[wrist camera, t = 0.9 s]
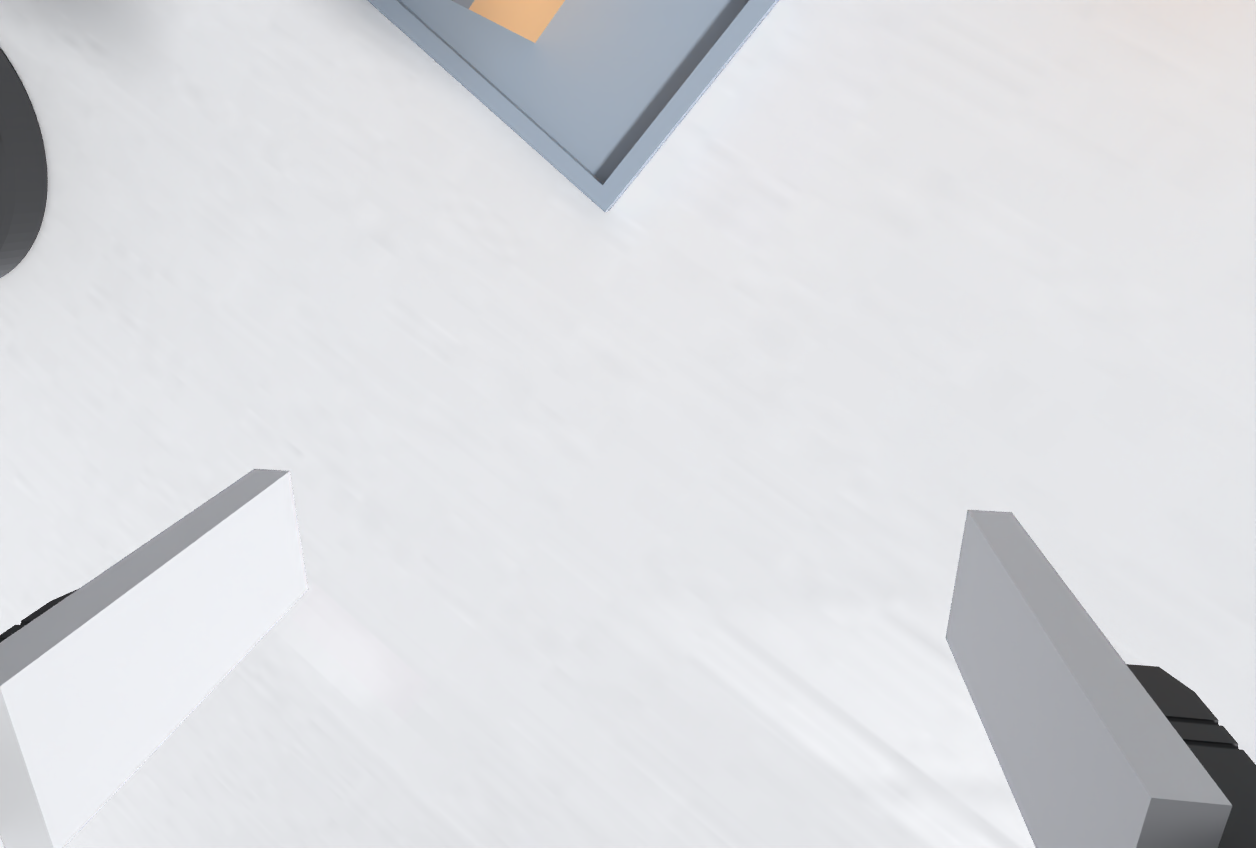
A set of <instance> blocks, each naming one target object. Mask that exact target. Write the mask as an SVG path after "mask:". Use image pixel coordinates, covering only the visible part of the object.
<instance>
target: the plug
mask: <svg viewBox="0 0 1256 848" xmlns="http://www.w3.org/2000/svg"><path fill="white" fill-rule="evenodd" d="M452 1H453V2H455V3H457V4H459V5H461V6H463V7H465V8H467V9H469V10H471V11H473V12H475V13H477V14H479V15H481V16H483V17H485V18H487V19H489V20H491V21H493V22H495V23H497V24H499V25H500V26H502V27H504V28H506V29H508V30H510V31H512V32H514V33H516V34H518V35H520V36H522V37H524V38H526V39H528V40H530V41H532V42H534V43H536V41H537V40H538V38H539V37H540V35H541V34H542V33H543V31H544V30H545V28H546V27H547V25H548V24H549V23H550V21H551V20H552V18H553V17H554V15H555V14H556V13H557V11H558V10H559V8H560V7H561V5H562V4H563V3H564V1H565V0H452Z"/></svg>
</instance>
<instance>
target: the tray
mask: <svg viewBox="0 0 1256 848" xmlns="http://www.w3.org/2000/svg"><path fill="white" fill-rule="evenodd" d="M368 1H369V2H370V3H371V4H372V5H373V6H374V7H375V8H377V9H378V10H379V11H380V12H381V13H382V14H383V15H384V16H386V17H387V18H388V19H389V20H390V21H391V22H392V23H393V24H395V25H396V26H397V27H398V28H399V29H400V30H401V31H402V32H403V33H405V34H406V35H407V36H408V37H409V38H410V39H411V40H412V41H414V42H415V43H416V44H417V45H418V46H419V47H420V48H421V49H423V50H424V51H425V52H426V53H427V54H428V55H429V56H430V57H432V58H433V59H434V60H435V61H436V62H437V63H438V64H439V65H440V66H442V67H443V68H444V69H445V70H446V71H447V72H448V73H449V74H451V75H452V76H453V77H454V78H455V79H456V80H457V81H458V82H460V83H461V84H462V85H463V86H464V87H465V88H466V89H467V90H468V91H470V92H471V93H472V94H473V95H474V96H475V97H476V98H477V99H479V100H480V101H481V102H482V103H483V104H484V105H485V106H486V107H488V108H489V109H490V110H491V111H492V112H493V113H494V114H495V115H497V116H498V117H499V118H500V119H501V120H502V121H503V122H504V123H505V124H507V125H508V126H509V127H510V128H511V129H512V130H513V131H514V132H516V133H517V134H518V135H519V136H520V137H521V138H522V139H523V140H525V141H526V142H527V143H528V144H529V145H530V146H531V147H532V148H533V149H535V150H536V151H537V152H538V153H539V154H540V155H541V156H542V157H544V158H545V159H546V160H547V161H548V162H549V163H550V164H551V165H553V166H554V167H555V168H556V169H557V170H558V171H559V172H560V173H561V174H563V175H564V176H565V177H566V178H567V179H568V180H569V181H570V182H572V183H573V184H574V185H575V186H576V187H577V188H578V189H579V190H581V191H582V192H583V193H584V194H585V195H586V196H587V197H588V198H590V199H591V200H592V201H593V202H594V203H595V204H596V205H597V206H598V207H600V208H601V209H602V210H603V211H604V212H606V211H609V210H610V209H611V207H612V206H613V205H614V204H615V203H616V201H617V200H618V199H619V198H620V196H621V195H622V194H623V193H624V191H625V190H626V189H627V188H628V186H629V185H630V184H631V183H632V181H633V180H634V179H635V178H636V177H637V175H638V174H639V173H640V172H641V170H642V169H643V168H644V167H645V165H646V164H647V163H648V162H649V160H650V159H651V158H652V157H653V155H654V154H655V153H656V152H657V151H658V149H659V148H660V147H661V146H662V144H663V143H664V142H665V141H666V139H667V138H668V137H669V136H670V134H671V133H672V132H673V131H674V130H675V128H676V127H677V126H678V125H679V123H680V122H681V121H682V120H683V118H684V117H685V116H686V115H687V113H688V112H689V111H690V110H691V108H692V107H693V106H694V105H695V104H696V102H697V101H698V100H699V99H700V97H701V96H702V95H703V94H704V92H705V91H706V90H707V89H708V87H709V86H710V85H711V84H712V82H713V81H714V80H715V79H716V78H717V76H718V75H719V74H720V73H721V71H722V70H723V69H724V68H725V66H726V65H727V64H728V63H729V61H730V60H731V59H732V58H733V57H734V55H735V54H736V53H737V52H738V50H739V49H740V48H741V47H742V45H743V44H744V43H745V42H746V40H747V39H748V38H749V37H750V35H751V34H752V33H753V32H754V31H755V29H756V28H757V27H758V26H759V24H760V23H761V22H762V21H763V19H764V18H765V17H766V16H767V14H768V13H769V12H770V11H771V9H772V8H773V7H774V6H775V5H776V3H777V2H778V1H779V0H565V1H564V3H563V4H562V5H561V7H560V8H559V10H558V11H557V13H556V14H555V15H554V17H553V18H552V20H551V21H550V23H549V24H548V25H547V27H546V28H545V30H544V31H543V33H542V34H541V35H540V37H539V38H538V40H537V41H536V43H534V42H532V41H530V40H528V39H526V38H524V37H522V36H520V35H518V34H516V33H514V32H512V31H510V30H508V29H506V28H504V27H502V26H500V25H499V24H497V23H495V22H493V21H491V20H489V19H487V18H485V17H483V16H481V15H479V14H477V13H475V12H473V11H471V10H469V9H467V8H465V7H463V6H461V5H459V4H457V3H455V2H453V1H452V0H368Z"/></svg>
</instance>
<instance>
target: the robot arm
mask: <svg viewBox="0 0 1256 848" xmlns="http://www.w3.org/2000/svg"><path fill="white" fill-rule="evenodd" d="M46 199H47V164H46V156H45V150H44V144H43V140H42V136H41V132H40V128H39V125H38V122H37V118H36V116H35V113H34V110H33V108H32V105H31V103H30V100H29V98H28V96H27V93H26V91H25V89H24V87H23V85H22V83H21V81H20V80H19V78H18V76H17V74H16V72H15V71H14V69H13V67H12V66H11V64H10V63H9V61H8V60H7V58H6V57H5V55H4V54H3V52H2V51H1V50H0V278H1V277H3V276H4V275H6V274H7V273H9V272H10V271H11V270H12V269H14V268H15V267H16V266H17V265H18V264H19V263H20V262H21V260H22V259H23V258H24V257H25V256H26V254H27V253H28V251H29V250H30V248H31V247H32V245H33V243H34V241H35V239H36V237H37V235H38V232H39V230H40V227H41V224H42V220H43V216H44V212H45V206H46ZM308 589H309V588H308V582H307V576H306V569H305V563H304V557H303V551H302V544H301V538H300V532H299V525H298V519H297V513H296V506H295V500H294V494H293V488H292V481H291V475H290V471H281V470H264V469H254V470H252V471H251V472H249V473H248V474H246V475H245V476H243V477H242V478H240V479H239V480H238V481H236V482H235V483H233V484H232V485H230V486H229V487H227V488H226V489H224V490H223V491H221V492H220V493H219V494H217V495H216V496H214V497H213V498H211V499H210V500H208V501H207V502H205V503H204V504H202V505H201V506H200V507H198V508H197V509H195V510H194V511H192V512H191V513H189V514H188V515H186V516H185V517H183V518H182V519H180V520H179V521H178V522H176V523H175V524H173V525H172V526H170V527H169V528H167V529H166V530H164V531H163V532H161V533H160V534H159V535H157V536H156V537H154V538H153V539H151V540H150V541H148V542H147V543H145V544H144V545H142V546H141V547H140V548H138V549H137V550H135V551H134V552H132V553H131V554H129V555H128V556H126V557H125V558H123V559H122V560H121V561H119V562H118V563H116V564H115V565H113V566H112V567H110V568H109V569H107V570H106V571H104V572H103V573H102V574H100V575H99V576H97V577H96V578H94V579H93V580H91V581H90V582H88V583H87V584H85V585H84V586H82V587H81V588H79V589H77V590H75V591H73V592H70V593H68V594H66V595H64V596H61V597H59V598H57V599H55V600H52V601H50V602H49V603H47V604H46V605H44V606H43V607H41V608H40V609H38V610H37V611H35V612H34V613H32V614H31V615H29V616H28V617H26V618H25V619H23V620H22V621H21V624H20V625H14V626H13V627H12V628H10V629H9V630H7V631H6V632H4V633H3V634H1V635H0V837H1V839H2V842H3V845H4V848H64V847H65V846H66V845H67V843H68V842H69V841H70V840H71V839H72V838H73V837H74V836H75V835H76V834H77V833H78V832H79V831H80V830H81V829H82V828H83V827H84V826H85V825H86V823H87V822H88V821H89V820H90V819H91V818H92V817H93V816H94V815H95V814H96V813H97V812H98V811H99V810H100V809H101V808H102V807H103V806H104V804H105V803H106V802H107V801H108V800H109V799H110V798H111V797H112V796H113V795H114V794H115V793H116V792H117V791H118V790H119V789H120V788H121V787H122V785H123V784H124V783H125V782H126V781H127V780H128V779H129V778H130V777H131V776H132V775H133V774H134V773H135V772H136V771H137V770H138V769H139V768H140V766H141V765H142V764H143V763H144V762H145V761H146V760H147V759H148V758H149V757H150V756H151V755H152V754H153V753H154V752H155V751H156V750H157V749H158V748H159V746H160V745H161V744H162V743H163V742H164V741H165V740H166V739H167V738H168V737H169V736H170V735H171V734H172V733H173V732H174V731H175V730H176V729H177V727H178V726H179V725H180V724H181V723H182V722H183V721H184V720H185V719H186V718H187V717H188V716H189V715H190V714H191V713H192V712H193V711H194V710H195V708H196V707H197V706H198V705H199V704H200V703H201V702H202V701H203V700H204V699H205V698H206V697H207V696H208V695H209V694H210V693H211V692H212V691H213V690H214V688H215V687H216V686H217V685H218V684H219V683H220V682H221V681H222V680H223V679H224V678H225V677H226V676H227V675H228V674H229V673H230V672H231V671H232V669H233V668H234V667H235V666H236V665H237V664H238V663H239V662H240V661H241V660H242V659H243V658H244V657H245V656H246V655H247V654H248V653H249V652H250V650H251V649H252V648H253V647H254V646H255V645H256V644H257V643H258V642H259V641H260V640H261V639H262V638H263V637H264V636H265V635H266V634H267V633H268V632H269V630H270V629H271V628H272V627H273V626H274V625H275V624H276V623H277V622H278V621H279V620H280V619H281V618H282V617H283V616H284V615H285V614H286V613H287V611H288V610H289V609H290V608H291V607H292V606H293V605H294V604H295V603H296V602H297V601H298V600H299V599H300V598H301V597H302V596H303V595H304V594H305V592H306V591H307V590H308ZM946 640H947V642H948V644H949V647H950V649H951V651H952V654H953V656H954V658H955V661H956V663H957V665H958V668H959V670H960V672H961V675H962V677H963V679H964V682H965V684H966V686H967V689H968V691H969V693H970V696H971V698H972V700H973V703H974V705H975V707H976V710H977V712H978V714H979V716H980V719H981V721H982V723H983V726H984V728H985V730H986V733H987V735H988V737H989V740H990V742H991V744H992V747H993V749H994V751H995V754H996V756H997V758H998V761H999V763H1000V765H1001V768H1002V770H1003V772H1004V775H1005V777H1006V779H1007V782H1008V784H1009V786H1010V789H1011V791H1012V793H1013V796H1014V798H1015V800H1016V803H1017V805H1018V807H1019V810H1020V812H1021V814H1022V817H1023V819H1024V821H1025V824H1026V826H1027V828H1028V831H1029V833H1030V835H1031V837H1032V840H1033V842H1034V844H1035V847H1036V848H1256V765H1255V764H1254V762H1253V761H1252V760H1251V759H1250V758H1249V756H1248V755H1247V754H1246V753H1245V752H1244V750H1239V749H1238V743H1237V742H1236V741H1235V740H1234V739H1233V737H1232V736H1231V735H1230V734H1229V733H1228V731H1227V730H1226V729H1225V728H1224V727H1223V726H1219V725H1218V719H1217V718H1216V717H1215V716H1214V715H1213V714H1212V712H1211V711H1210V710H1209V709H1208V708H1207V706H1206V705H1205V704H1204V703H1203V702H1202V700H1201V699H1200V698H1199V697H1198V696H1197V694H1196V693H1195V692H1194V691H1192V690H1191V689H1189V688H1188V687H1187V686H1185V685H1184V684H1182V683H1181V682H1180V681H1178V680H1177V679H1175V678H1174V677H1172V676H1171V675H1170V674H1168V673H1167V672H1165V671H1164V670H1163V669H1161V668H1160V667H1154V666H1141V665H1129V664H1125V662H1124V661H1123V660H1122V658H1121V657H1120V656H1119V654H1118V653H1117V652H1116V650H1115V649H1114V648H1113V646H1112V645H1111V644H1110V642H1109V641H1108V640H1107V638H1106V637H1105V636H1104V634H1103V633H1102V632H1101V630H1100V629H1099V628H1098V626H1097V625H1096V624H1095V622H1094V621H1093V620H1092V618H1091V617H1090V616H1089V614H1088V613H1087V612H1086V610H1085V609H1084V608H1083V606H1082V605H1081V604H1080V602H1079V601H1078V600H1077V598H1076V597H1075V596H1074V594H1073V593H1072V592H1071V591H1070V589H1069V588H1068V587H1067V585H1066V584H1065V583H1064V581H1063V580H1062V579H1061V577H1060V576H1059V575H1058V573H1057V572H1056V571H1055V569H1054V568H1053V567H1052V565H1051V564H1050V563H1049V561H1048V560H1047V559H1046V557H1045V556H1044V555H1043V553H1042V552H1041V551H1040V549H1039V548H1038V547H1037V545H1036V544H1035V543H1034V541H1033V540H1032V539H1031V537H1030V536H1029V535H1028V533H1027V532H1026V531H1025V529H1024V528H1023V527H1022V525H1021V524H1020V523H1019V521H1018V520H1017V519H1016V518H1015V516H1014V515H1013V514H1012V512H995V511H978V510H967V516H966V522H965V528H964V534H963V539H962V545H961V551H960V557H959V563H958V569H957V574H956V580H955V586H954V592H953V598H952V603H951V609H950V615H949V621H948V627H947V633H946Z"/></svg>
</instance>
